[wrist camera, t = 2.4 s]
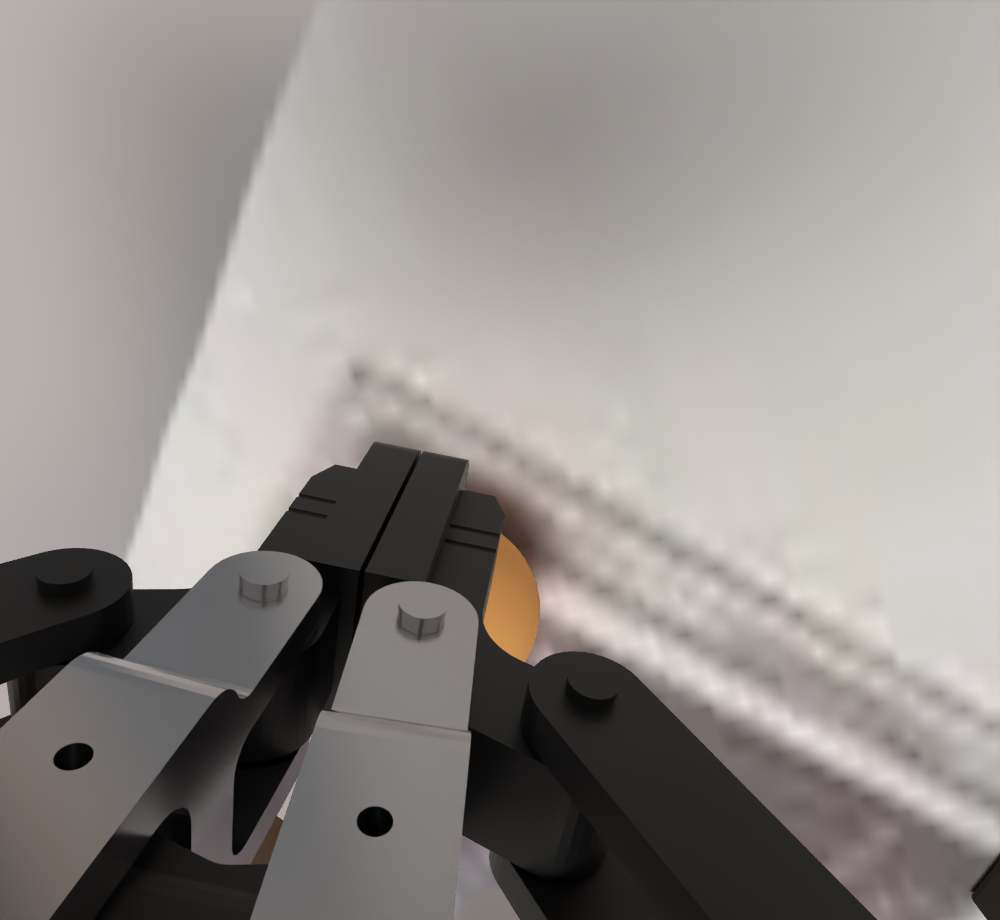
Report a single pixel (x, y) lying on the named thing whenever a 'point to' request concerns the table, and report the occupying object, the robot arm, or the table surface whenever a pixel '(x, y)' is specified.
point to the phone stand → (989, 894)
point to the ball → (512, 603)
